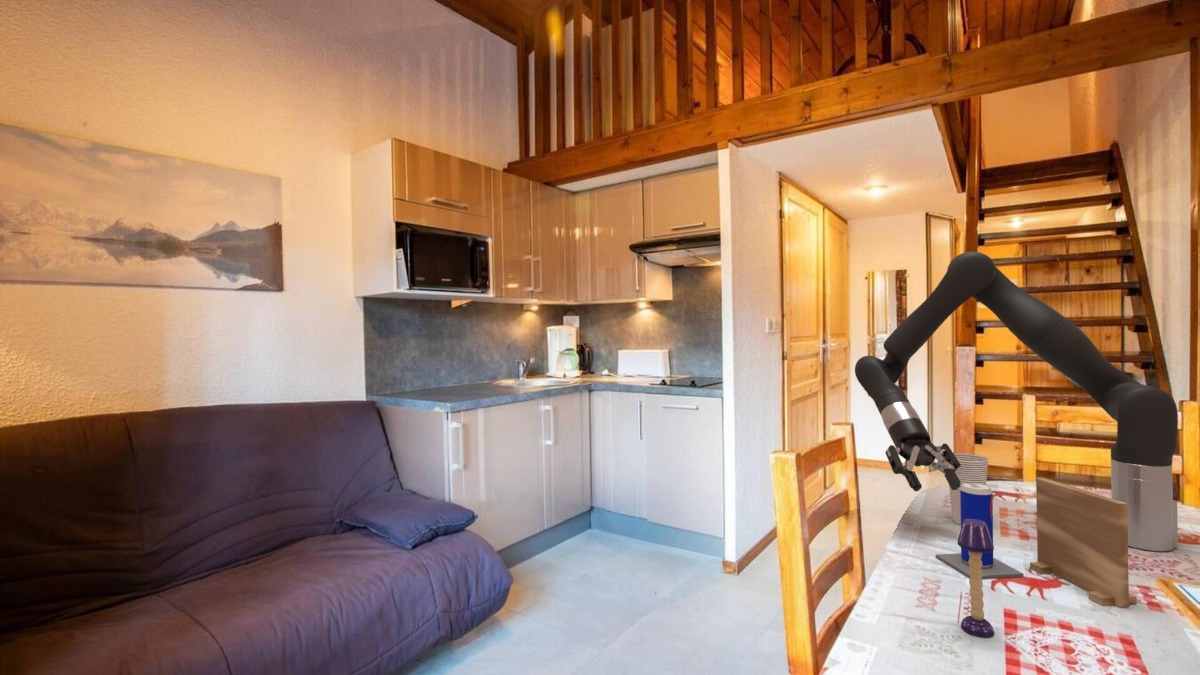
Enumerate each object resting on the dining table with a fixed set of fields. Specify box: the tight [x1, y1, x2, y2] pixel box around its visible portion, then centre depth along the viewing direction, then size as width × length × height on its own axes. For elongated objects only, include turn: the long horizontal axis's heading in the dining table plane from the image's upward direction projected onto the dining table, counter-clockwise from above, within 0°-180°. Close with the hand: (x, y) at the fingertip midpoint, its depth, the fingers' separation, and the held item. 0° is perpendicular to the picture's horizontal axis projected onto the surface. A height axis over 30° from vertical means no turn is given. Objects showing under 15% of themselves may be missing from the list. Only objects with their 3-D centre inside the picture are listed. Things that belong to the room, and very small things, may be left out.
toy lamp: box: [957, 519, 995, 638], centre depth 85 cm, size 5×5×17 cm
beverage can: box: [960, 483, 994, 568], centre depth 107 cm, size 5×5×15 cm
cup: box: [948, 452, 989, 526], centre depth 131 cm, size 8×8×16 cm
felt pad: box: [935, 552, 1025, 580], centre depth 107 cm, size 10×10×1 cm
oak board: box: [1029, 477, 1138, 608], centre depth 99 cm, size 6×16×17 cm, turn 3°
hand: (937, 488), depth 119 cm, fingers open, 8 cm apart
